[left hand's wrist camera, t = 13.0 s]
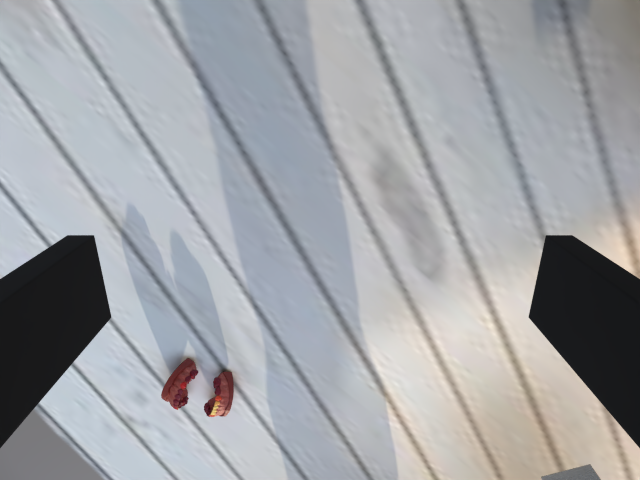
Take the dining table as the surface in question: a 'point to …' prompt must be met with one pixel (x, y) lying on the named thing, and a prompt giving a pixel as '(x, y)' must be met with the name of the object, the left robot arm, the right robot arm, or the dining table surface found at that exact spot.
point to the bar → (574, 474)
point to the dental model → (178, 392)
